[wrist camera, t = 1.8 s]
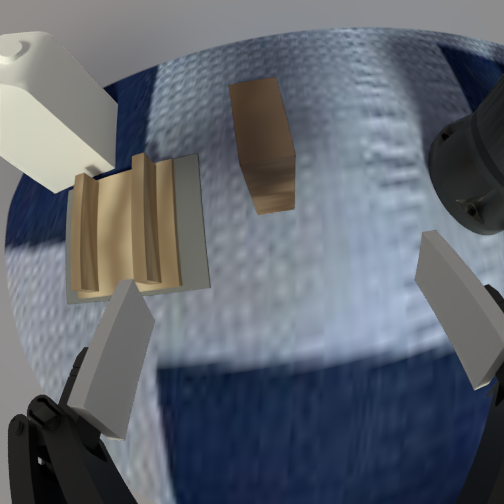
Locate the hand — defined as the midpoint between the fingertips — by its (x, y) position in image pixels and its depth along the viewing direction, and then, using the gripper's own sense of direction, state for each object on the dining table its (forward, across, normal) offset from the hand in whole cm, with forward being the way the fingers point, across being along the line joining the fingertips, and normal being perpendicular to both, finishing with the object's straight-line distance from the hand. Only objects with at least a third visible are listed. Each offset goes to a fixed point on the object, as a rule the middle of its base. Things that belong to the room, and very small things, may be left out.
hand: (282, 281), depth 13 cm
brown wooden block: (+22, 0, -3) cm, 22 cm away
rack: (+20, -18, -5) cm, 27 cm away
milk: (+31, -26, +5) cm, 40 cm away
